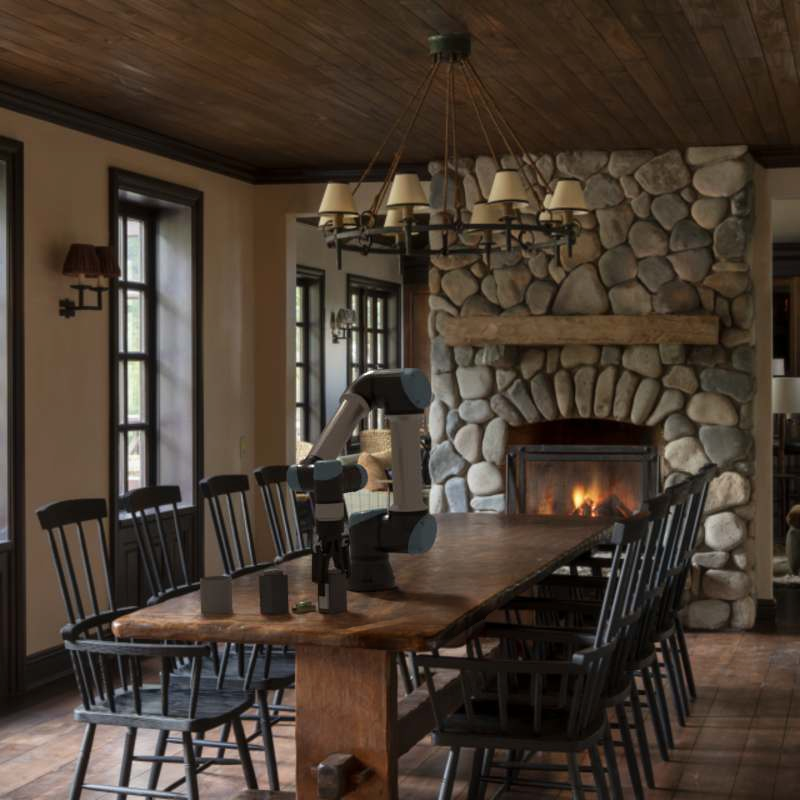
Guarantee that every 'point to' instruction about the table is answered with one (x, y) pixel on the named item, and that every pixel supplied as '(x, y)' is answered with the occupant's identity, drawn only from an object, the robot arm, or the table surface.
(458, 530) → the table surface
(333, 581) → the knob
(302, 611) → the bubble vial
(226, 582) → the cup
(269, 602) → the knob
